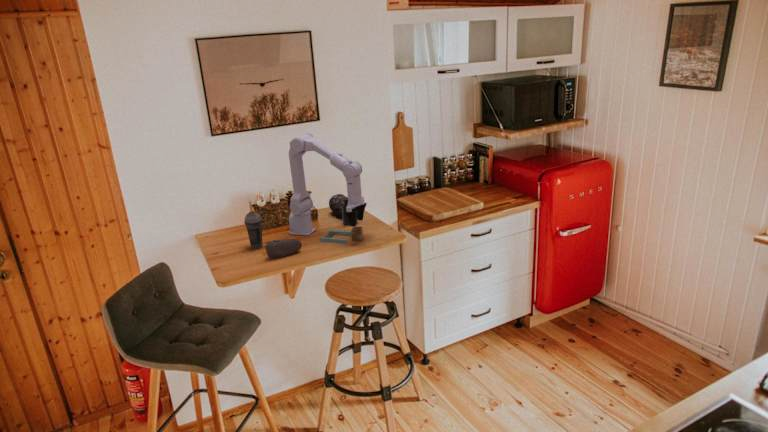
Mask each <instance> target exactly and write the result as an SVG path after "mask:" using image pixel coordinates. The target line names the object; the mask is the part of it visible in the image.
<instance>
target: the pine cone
mask: <svg viewBox="0 0 768 432" xmlns="http://www.w3.org/2000/svg"><path fill="white" fill-rule="evenodd" d="M346 197H347V196H346V195H344V194H342V193H338V194H334V195H332V196H331V197H330V199H329V200H328V207H329V210H330V211H331V212H332V213H331V216H333V217H335V218H337V219H339V220H342V221H343V218H342V205H343V204H344V198H346Z"/></svg>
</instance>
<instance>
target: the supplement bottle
mask: <svg viewBox="0 0 768 432" xmlns="http://www.w3.org/2000/svg"><path fill="white" fill-rule="evenodd" d="M347 205H348V196H346V198H344V204H343V205H342V218H343V220H342V224H343V225H344V226H351V225H350V222H349V220H348V217H347V216H346V214H345V213H344V211H345V210H346V207H347ZM354 210H355V208H354ZM357 224H358V219H357V220H356V225H357Z"/></svg>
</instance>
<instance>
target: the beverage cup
mask: <svg viewBox="0 0 768 432" xmlns="http://www.w3.org/2000/svg"><path fill="white" fill-rule="evenodd" d="M248 203H249V207H250V211H249V212H248V213H247V214H246V215H245V216H244V225H245V228H246V231H247V235H248V240H249V243H250V246H251V249H253V250H258V249H259V250H260V249H262V248H263V226H262V225H263V219H262V215H261V214H260V213H258V212H257V211H253V210H252V209H253V208H252V202H251V201H250V200H249V202H248Z"/></svg>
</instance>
